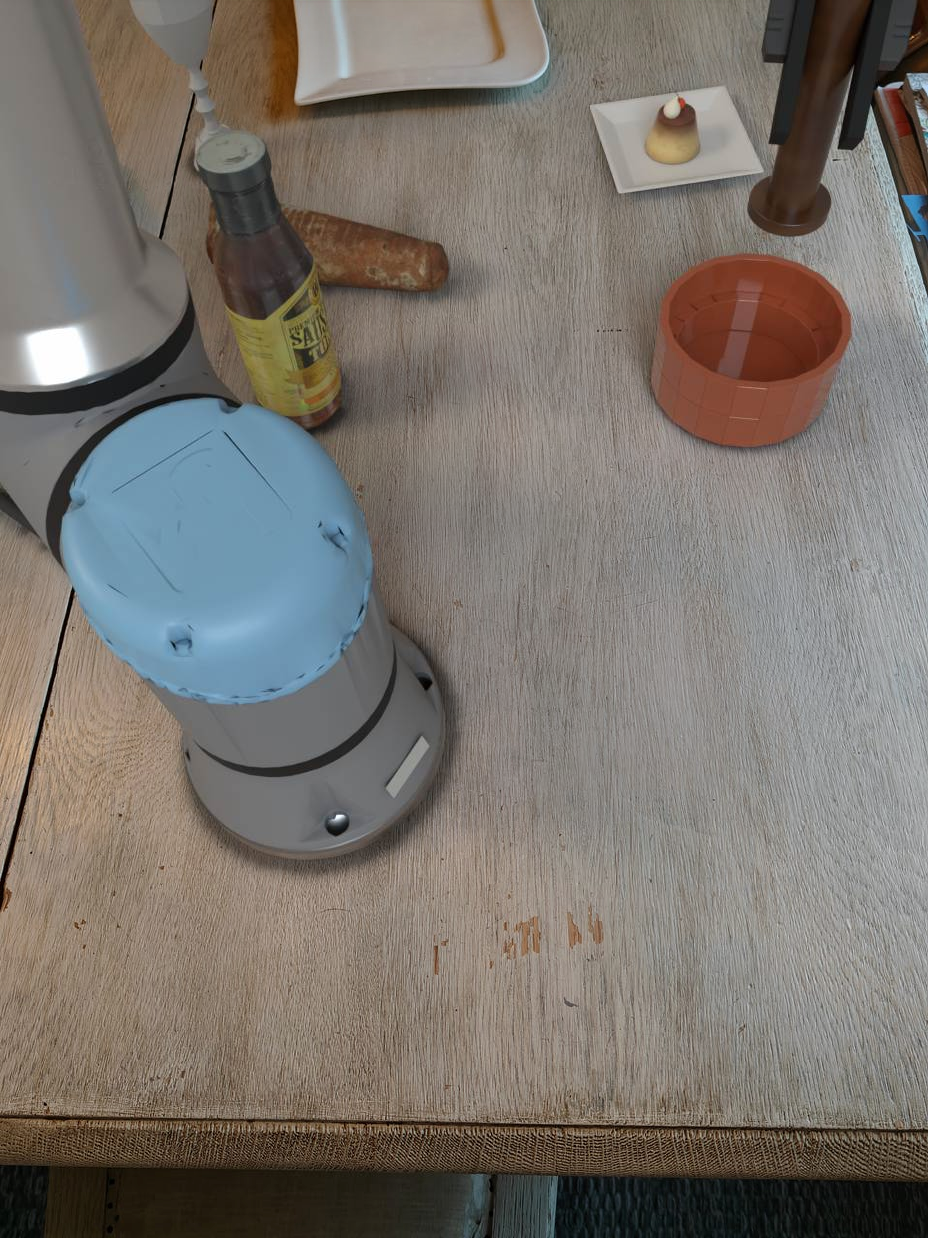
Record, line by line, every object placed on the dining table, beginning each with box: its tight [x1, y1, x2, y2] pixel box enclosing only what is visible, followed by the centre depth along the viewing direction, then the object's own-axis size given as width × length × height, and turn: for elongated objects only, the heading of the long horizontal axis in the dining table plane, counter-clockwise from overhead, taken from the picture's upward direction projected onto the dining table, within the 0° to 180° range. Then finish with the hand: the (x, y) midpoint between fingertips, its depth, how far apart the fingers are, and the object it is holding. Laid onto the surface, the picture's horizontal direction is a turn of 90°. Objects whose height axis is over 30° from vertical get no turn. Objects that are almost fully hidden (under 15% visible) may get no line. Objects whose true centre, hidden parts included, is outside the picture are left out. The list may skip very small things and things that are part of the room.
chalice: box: [128, 0, 235, 172], centre depth 77 cm, size 7×7×18 cm
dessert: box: [589, 85, 765, 195], centre depth 79 cm, size 12×12×5 cm
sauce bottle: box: [196, 129, 343, 431], centre depth 62 cm, size 7×6×20 cm
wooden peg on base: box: [746, 0, 873, 238], centre depth 46 cm, size 4×4×18 cm
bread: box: [204, 200, 450, 293], centre depth 74 cm, size 6×19×6 cm, turn 74°
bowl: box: [650, 252, 852, 448], centre depth 65 cm, size 12×12×6 cm
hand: (814, 140), depth 46 cm, fingers closed on wooden peg on base, 3 cm apart
